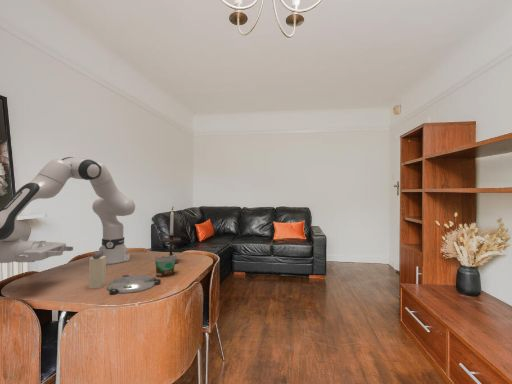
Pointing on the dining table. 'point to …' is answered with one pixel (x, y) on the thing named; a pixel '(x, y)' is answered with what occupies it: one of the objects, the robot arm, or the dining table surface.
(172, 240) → the candlestick
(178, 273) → the dining table surface
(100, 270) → the cream bottle
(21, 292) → the dining table surface
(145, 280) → the levelling base
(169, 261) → the food container
